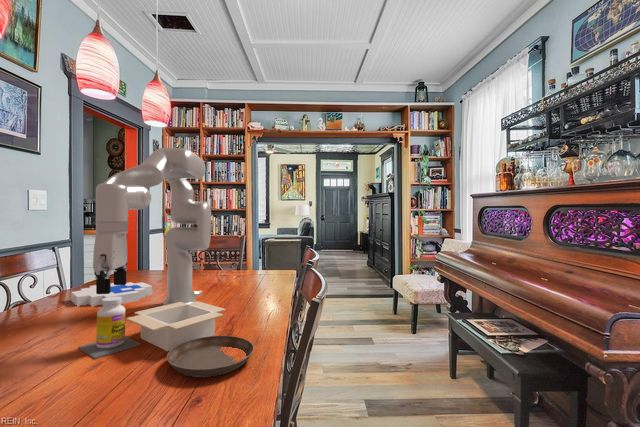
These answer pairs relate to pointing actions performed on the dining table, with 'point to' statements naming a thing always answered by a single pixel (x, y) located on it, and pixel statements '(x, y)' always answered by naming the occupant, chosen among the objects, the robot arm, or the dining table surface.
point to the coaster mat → (99, 352)
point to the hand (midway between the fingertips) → (112, 289)
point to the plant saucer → (208, 356)
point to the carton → (177, 323)
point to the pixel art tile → (111, 294)
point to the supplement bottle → (110, 323)
